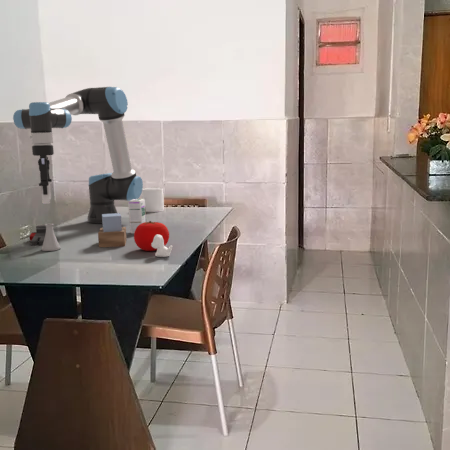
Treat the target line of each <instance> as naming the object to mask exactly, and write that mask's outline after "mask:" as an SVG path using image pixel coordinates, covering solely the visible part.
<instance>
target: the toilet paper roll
mask: <svg viewBox="0 0 450 450" xmlns="http://www.w3.org/2000/svg"><path fill="white" fill-rule="evenodd" d="M164 198H165V197H164V188H163V187H155V186H154V187H145V188H144V187H143V189H142V193H141V199H145V210H146V213H158V212H164V211H165V204H164V203H165V199H164Z"/></svg>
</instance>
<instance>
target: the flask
mask: <svg viewBox="0 0 450 450" xmlns="http://www.w3.org/2000/svg"><path fill="white" fill-rule="evenodd" d="M45 226H46V235H45V239H44V242H43V245H41V246H42V247H41V251H43V252H47V251H48V252H51V251H59V250H60V249H62V248H61V246H60V243H59V241H58V238H57V237H56V234H55V231H54V223H45Z"/></svg>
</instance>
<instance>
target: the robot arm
mask: <svg viewBox="0 0 450 450" xmlns="http://www.w3.org/2000/svg"><path fill="white" fill-rule="evenodd" d="M128 103H129V102H128V98H127V96H126V94H125V92H124V90H122V89H121V88H120V87H117V86H100V87H99V86H98V87H89V88H88V87H87V88H84V89H80V90H78V91H75V92H72V93H68V94H66V96H65V97H64V98H60V99H57V100H54V101H51V102H47V101H35V102H30V103H29V105H28V108H26V109H25V108H21V109H17V110H15V111H14V114H13V117H12V119H13V124H14V126H15V127H16V128H18V129H20V130H21V129H22V130H28V129H29V130H30V134H31V135H29V139H31V145H32V146H31V150H32V155H33V156H34V157H35V156H37V157H39V158H38V160H37V165H38V171H39V173H40V174H39V177H40V183H38V186H39V187H40V191H41V202H42V203H41V204H46V205H47V204H51V199H52V192H51V191H52V190H51V189H52V188H51V183H52V179H51V177H50V165H51V164H50V159H49V157H48V156H53V155H54V154H55V153H54V145H53V143H54V139H53V138H54V137H53V129H64V128H68V127H69V126H70V125H71V123H72V121H73V120H72V119H73V118H72V116H79V115H97V116H98V120H99V121H100V122H102V123H103V124H102V125H103V128H104V133H105V137H106V142H107V145H108V146H107V149H108V153H109V156H110V161H111V166H112V171H113V172H108V173H103V174H95V175H90V176H89V177H88V184H87V185H88V193H89V195H88V196H89V211H88V214H87V223H89V224H103V223H102V214H114V213H118V211H117V208H116V205H115V201H127V202H128V201H130V200H133V199H140V197H141V196H142V189H143V188H144V186H143V185H144V183H143V178H142V177H141V176H139V175H137V172H136V170H135V169H134V168H132V164H131V158H130V152H129V149H128V147H129V146H128V143H127V137H126V134H125V128H124V127H125V126H124V122H123V119H124V117H125V116H126V115H125V113H126V112H127V110H128Z"/></svg>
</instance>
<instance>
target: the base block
mask: <svg viewBox="0 0 450 450" xmlns="http://www.w3.org/2000/svg"><path fill="white" fill-rule="evenodd" d="M97 238H98V248H110V247H111V248H113V247H115V248H117V247H126V243H127V227H126V226H122V231H114V232H104V231H103V227H100V228H99V231H98V232H97Z"/></svg>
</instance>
